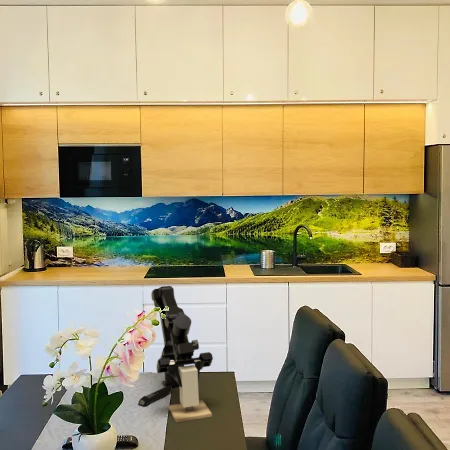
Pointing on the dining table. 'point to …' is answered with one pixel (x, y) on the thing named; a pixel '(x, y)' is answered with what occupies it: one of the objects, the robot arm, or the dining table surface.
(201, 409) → the post stand
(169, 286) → the robot arm
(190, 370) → the beige rectangular block
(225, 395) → the dining table surface
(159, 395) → the electric trimmer
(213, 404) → the dining table surface
